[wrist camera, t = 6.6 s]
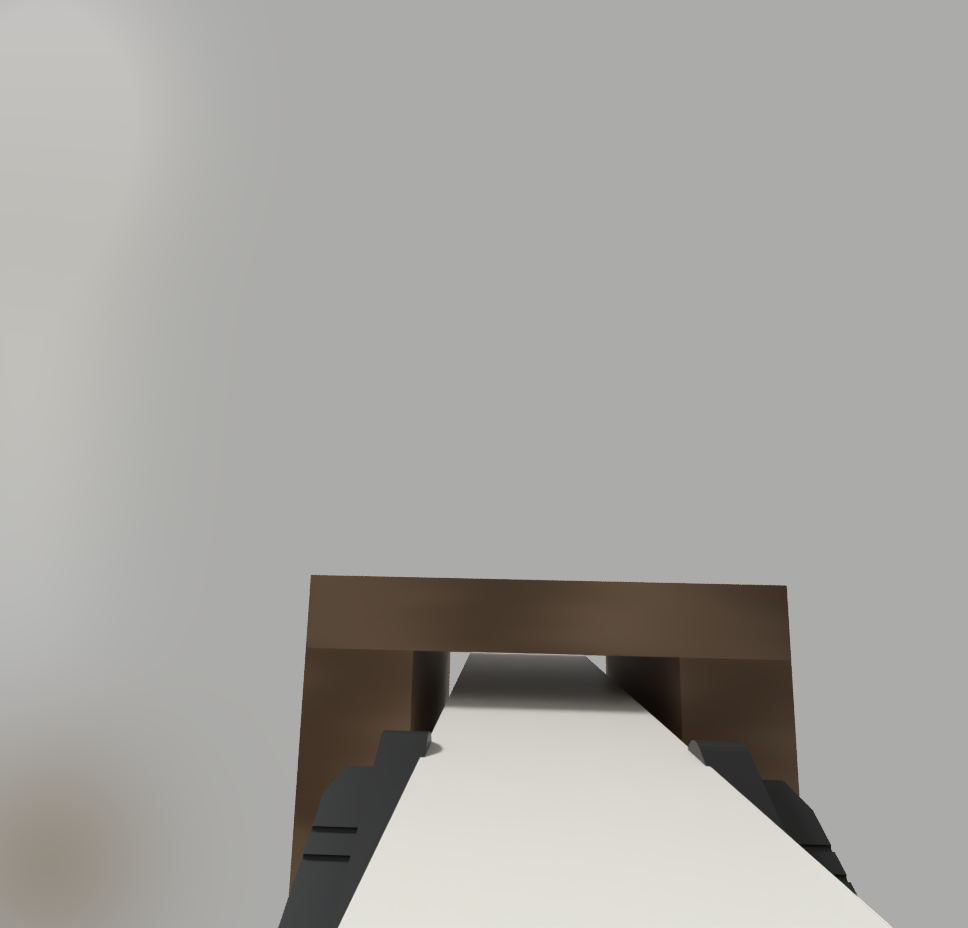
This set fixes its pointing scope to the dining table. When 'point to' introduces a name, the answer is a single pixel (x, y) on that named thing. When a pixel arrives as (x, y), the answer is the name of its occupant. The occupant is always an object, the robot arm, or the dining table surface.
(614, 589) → the socket tower
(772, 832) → the plug bar
